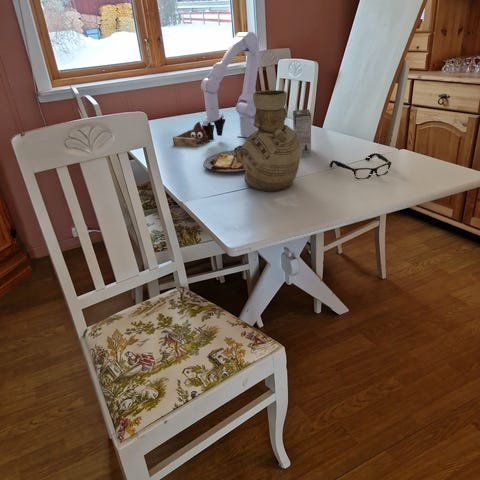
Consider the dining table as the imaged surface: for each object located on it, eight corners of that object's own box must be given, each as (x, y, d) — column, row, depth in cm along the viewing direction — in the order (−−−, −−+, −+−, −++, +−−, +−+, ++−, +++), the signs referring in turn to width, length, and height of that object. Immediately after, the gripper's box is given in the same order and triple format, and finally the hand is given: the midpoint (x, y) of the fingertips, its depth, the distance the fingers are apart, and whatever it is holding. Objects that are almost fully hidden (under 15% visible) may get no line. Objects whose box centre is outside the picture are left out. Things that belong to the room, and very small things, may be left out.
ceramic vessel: (234, 179, 148) (226, 90, 134) (293, 172, 149) (291, 83, 135) (240, 199, 131) (231, 101, 117) (306, 192, 132) (305, 93, 118)
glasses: (350, 185, 137) (351, 171, 135) (326, 167, 152) (327, 154, 149) (395, 176, 140) (397, 162, 138) (367, 159, 155) (369, 146, 153)
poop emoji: (212, 139, 199) (209, 119, 195) (207, 144, 192) (204, 123, 187) (192, 139, 201) (189, 120, 197) (186, 144, 194) (183, 124, 189)
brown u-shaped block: (213, 138, 200) (212, 130, 199) (196, 146, 189) (195, 139, 188) (191, 136, 206) (190, 129, 204) (173, 145, 195) (172, 137, 193)
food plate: (259, 176, 149) (258, 166, 148) (197, 176, 154) (195, 167, 153) (269, 154, 171) (268, 146, 169) (214, 155, 176) (213, 147, 174)
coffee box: (293, 150, 172) (292, 110, 165) (308, 149, 172) (308, 109, 164) (295, 156, 164) (294, 115, 157) (311, 155, 164) (311, 114, 156)
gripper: (213, 103, 192) (216, 133, 198) (195, 110, 181) (199, 141, 187) (226, 103, 188) (229, 133, 195) (209, 111, 178) (212, 142, 184)
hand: (215, 137), depth 191 cm, fingers open, 7 cm apart
